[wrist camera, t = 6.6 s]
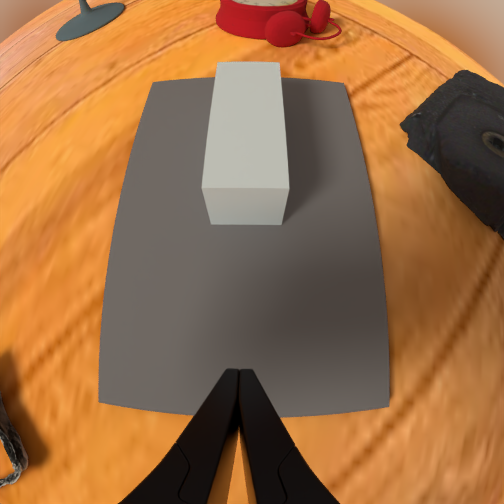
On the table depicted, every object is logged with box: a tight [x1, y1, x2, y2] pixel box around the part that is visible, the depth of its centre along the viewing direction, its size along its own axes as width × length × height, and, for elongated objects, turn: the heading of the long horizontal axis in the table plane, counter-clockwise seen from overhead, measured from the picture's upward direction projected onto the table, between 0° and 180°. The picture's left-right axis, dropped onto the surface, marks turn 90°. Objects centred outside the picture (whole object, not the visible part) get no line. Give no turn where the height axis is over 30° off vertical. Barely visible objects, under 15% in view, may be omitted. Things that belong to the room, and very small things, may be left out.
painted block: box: [202, 62, 289, 225], centre depth 17 cm, size 4×4×10 cm
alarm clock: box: [216, 0, 342, 47], centre depth 25 cm, size 10×6×15 cm
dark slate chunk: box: [400, 70, 504, 239], centre depth 20 cm, size 15×22×5 cm
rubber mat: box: [99, 77, 389, 417], centre depth 18 cm, size 24×16×1 cm, turn 0°
